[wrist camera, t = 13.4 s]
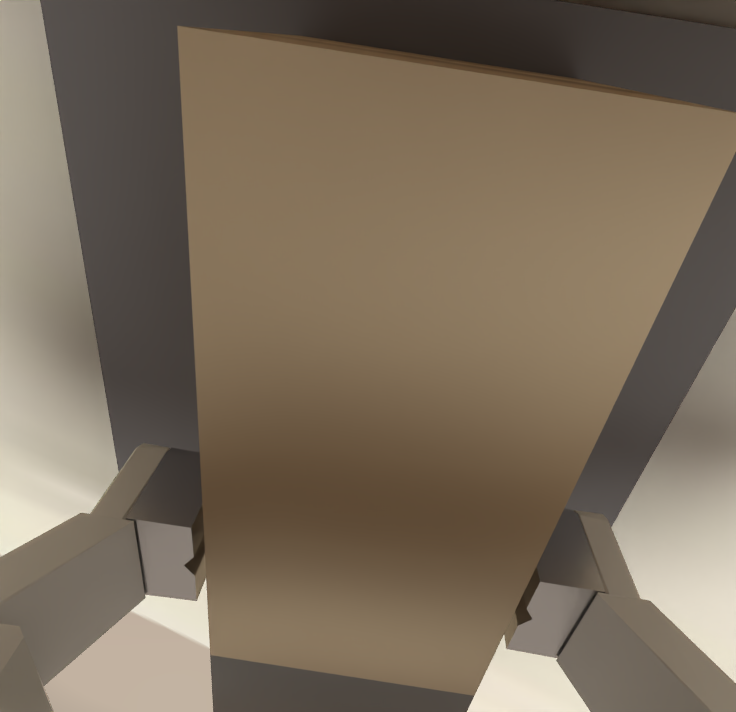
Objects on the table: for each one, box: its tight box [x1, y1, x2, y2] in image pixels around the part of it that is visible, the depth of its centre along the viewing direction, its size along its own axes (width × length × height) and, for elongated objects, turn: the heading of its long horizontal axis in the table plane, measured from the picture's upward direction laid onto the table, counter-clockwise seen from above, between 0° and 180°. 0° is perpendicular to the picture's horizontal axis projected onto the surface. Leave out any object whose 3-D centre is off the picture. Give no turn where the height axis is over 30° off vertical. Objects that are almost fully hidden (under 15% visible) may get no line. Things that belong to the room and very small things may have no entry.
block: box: [177, 26, 736, 712], centre depth 9 cm, size 12×4×5 cm, turn 172°
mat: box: [40, 0, 736, 527], centre depth 12 cm, size 14×13×1 cm
